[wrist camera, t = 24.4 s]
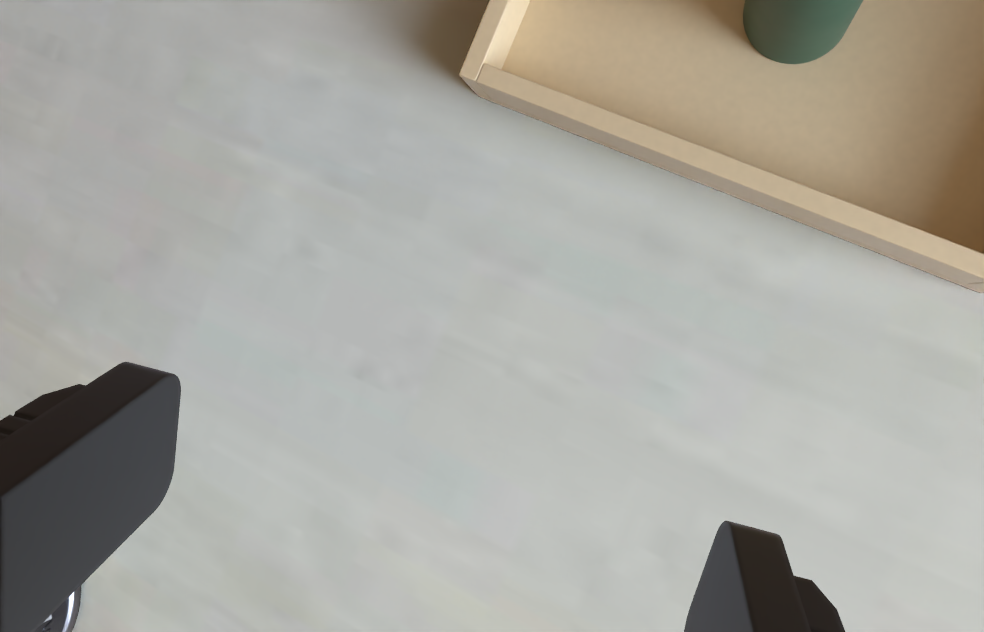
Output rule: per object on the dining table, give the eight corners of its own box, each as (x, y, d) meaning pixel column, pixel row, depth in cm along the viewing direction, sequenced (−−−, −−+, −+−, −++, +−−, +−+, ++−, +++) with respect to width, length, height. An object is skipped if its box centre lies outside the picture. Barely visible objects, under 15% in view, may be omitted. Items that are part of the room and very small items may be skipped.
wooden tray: (477, 96, 36) (457, 74, 33) (614, -230, 35) (607, -286, 32) (981, 293, 32) (1014, 290, 28) (1158, -73, 30) (1214, -119, 27)
